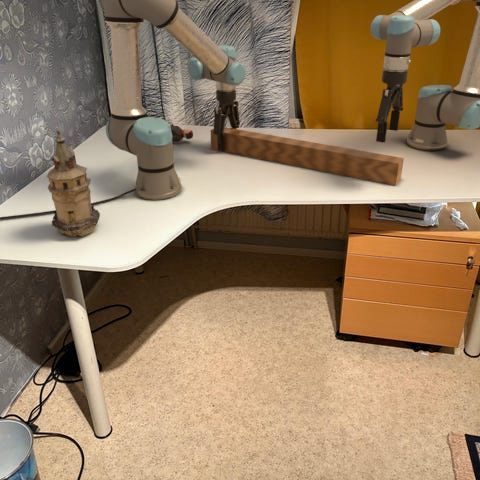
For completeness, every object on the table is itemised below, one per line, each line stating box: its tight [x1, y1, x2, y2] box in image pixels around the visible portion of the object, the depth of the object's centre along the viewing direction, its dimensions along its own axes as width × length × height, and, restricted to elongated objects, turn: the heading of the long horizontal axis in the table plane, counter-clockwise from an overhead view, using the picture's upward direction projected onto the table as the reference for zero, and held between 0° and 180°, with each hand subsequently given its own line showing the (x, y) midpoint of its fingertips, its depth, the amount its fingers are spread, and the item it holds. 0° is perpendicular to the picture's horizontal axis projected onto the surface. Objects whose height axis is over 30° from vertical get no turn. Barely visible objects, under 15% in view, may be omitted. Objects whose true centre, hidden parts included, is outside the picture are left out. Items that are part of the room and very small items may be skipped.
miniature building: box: [46, 129, 101, 237], centre depth 148 cm, size 13×14×30 cm
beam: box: [210, 126, 405, 186], centre depth 196 cm, size 74×6×8 cm, turn 59°
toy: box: [169, 123, 194, 144], centre depth 221 cm, size 26×6×30 cm
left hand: (227, 147), depth 212 cm, fingers open, 8 cm apart
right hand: (387, 135), depth 177 cm, fingers open, 13 cm apart
